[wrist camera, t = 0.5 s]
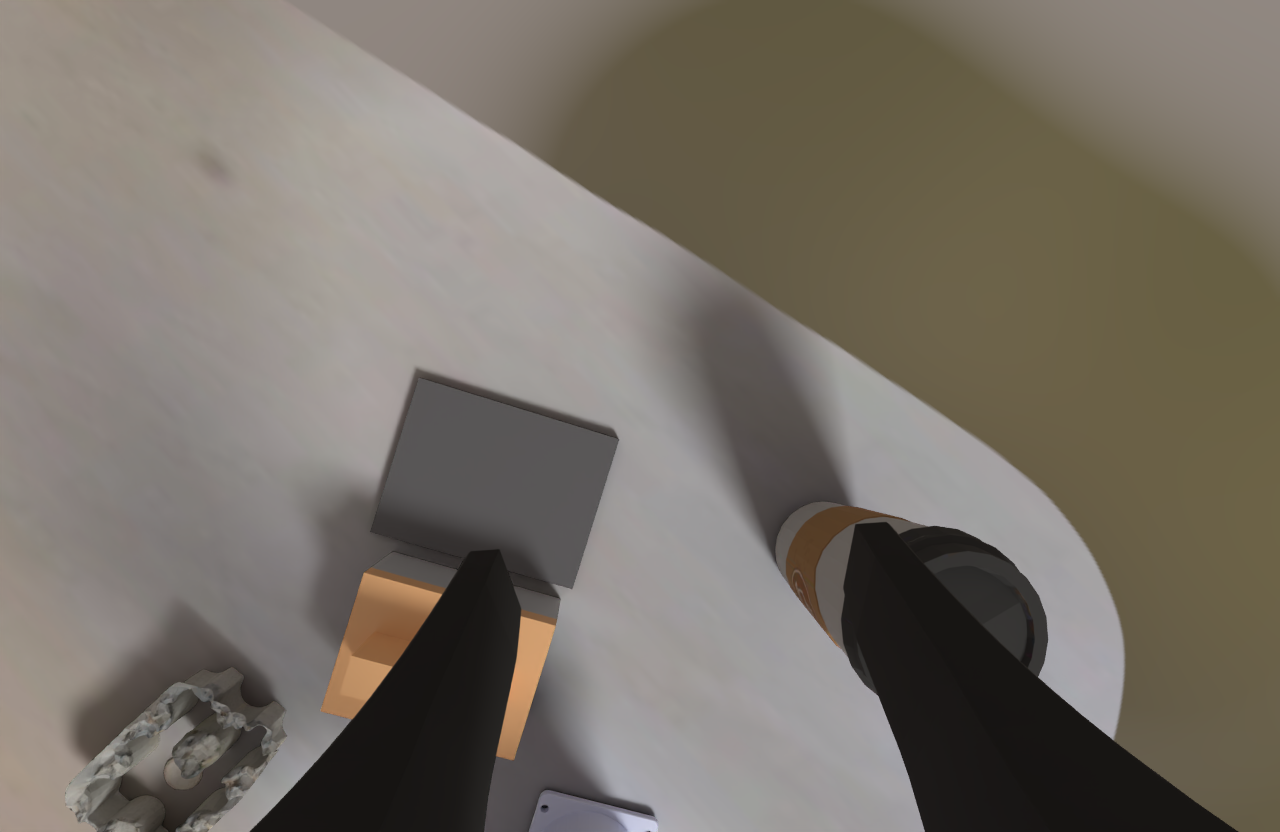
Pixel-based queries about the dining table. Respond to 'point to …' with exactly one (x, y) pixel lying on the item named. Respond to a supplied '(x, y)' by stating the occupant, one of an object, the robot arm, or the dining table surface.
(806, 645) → the dining table surface
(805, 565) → the coffee cup
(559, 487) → the mat
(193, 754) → the grey rock
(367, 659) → the lid
